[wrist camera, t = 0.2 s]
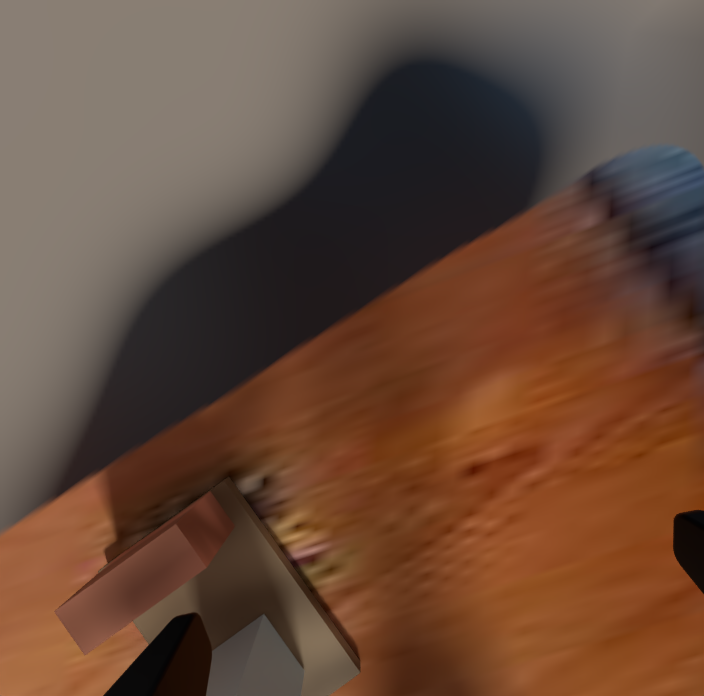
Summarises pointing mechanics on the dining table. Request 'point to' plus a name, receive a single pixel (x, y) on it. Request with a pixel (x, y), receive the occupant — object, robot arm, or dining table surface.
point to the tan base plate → (212, 589)
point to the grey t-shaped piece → (255, 664)
